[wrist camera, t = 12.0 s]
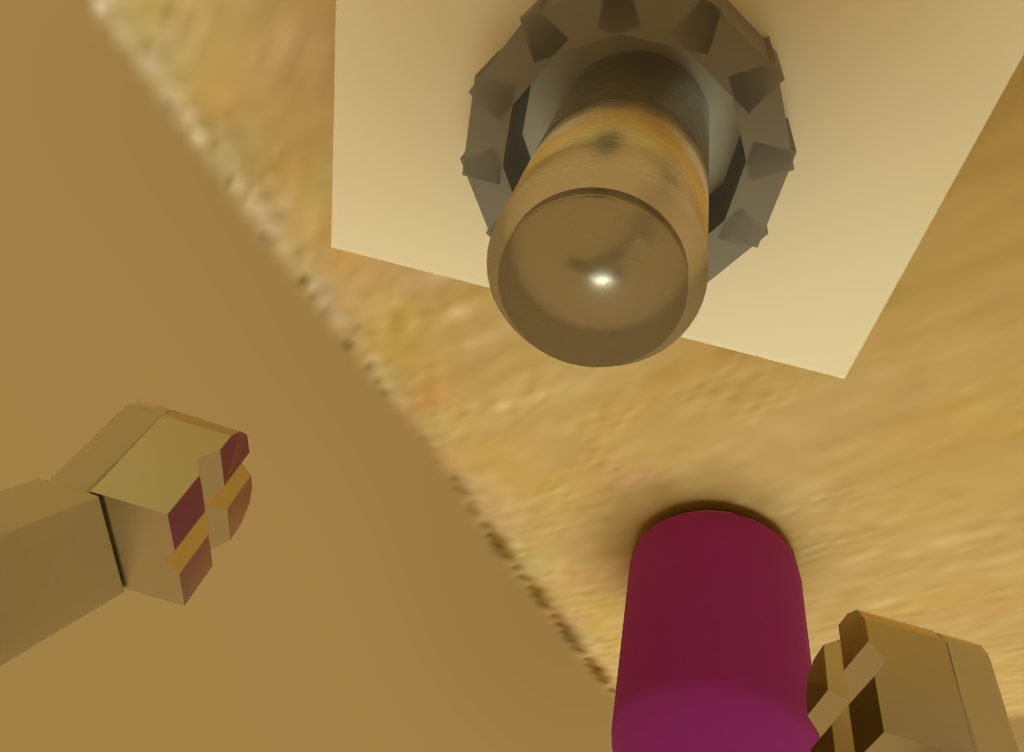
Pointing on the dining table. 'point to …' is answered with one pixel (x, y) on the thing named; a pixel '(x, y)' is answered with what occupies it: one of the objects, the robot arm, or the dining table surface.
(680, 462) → the dining table surface
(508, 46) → the ring block
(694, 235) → the cylinder
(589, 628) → the dining table surface
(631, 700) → the beverage can
